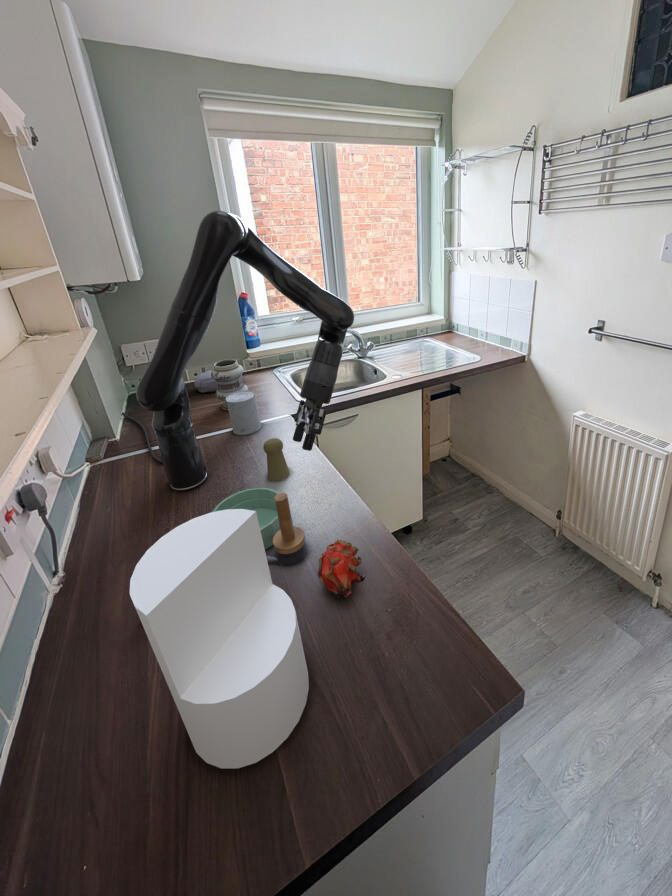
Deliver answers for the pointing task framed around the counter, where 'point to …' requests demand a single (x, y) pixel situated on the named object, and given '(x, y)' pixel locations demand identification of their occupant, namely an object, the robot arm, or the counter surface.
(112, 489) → the counter surface
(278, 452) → the olive green tapered cone
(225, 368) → the apothecary jar
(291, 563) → the dish brush
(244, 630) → the stepped white drum
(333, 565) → the dragon fruit
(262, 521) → the bowl
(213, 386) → the grey rounded bag
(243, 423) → the white canister
